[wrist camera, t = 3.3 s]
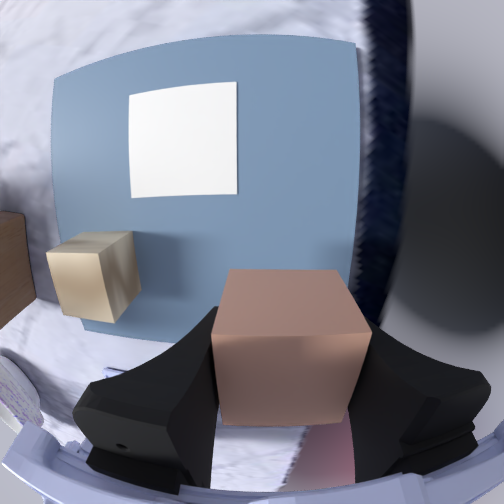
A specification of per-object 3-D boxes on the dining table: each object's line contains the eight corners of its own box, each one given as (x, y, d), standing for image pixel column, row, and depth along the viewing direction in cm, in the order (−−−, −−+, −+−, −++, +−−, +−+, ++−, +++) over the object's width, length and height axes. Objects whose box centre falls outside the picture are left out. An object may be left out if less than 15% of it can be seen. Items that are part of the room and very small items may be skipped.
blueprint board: (334, 341, 20) (336, 347, 20) (87, 326, 21) (84, 330, 21) (352, 46, 13) (355, 42, 12) (59, 79, 14) (53, 78, 13)
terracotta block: (323, 351, 13) (341, 422, 8) (233, 351, 13) (222, 424, 9) (336, 269, 11) (372, 332, 7) (229, 268, 11) (211, 333, 7)
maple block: (141, 289, 19) (114, 323, 15) (94, 286, 19) (63, 314, 15) (132, 230, 17) (98, 253, 13) (83, 232, 17) (45, 252, 13)
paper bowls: (-20, 339, 26) (-44, 363, 18) (13, 342, 24) (-18, 375, 17) (24, 403, 31) (6, 428, 23) (68, 417, 29) (49, 451, 21)
